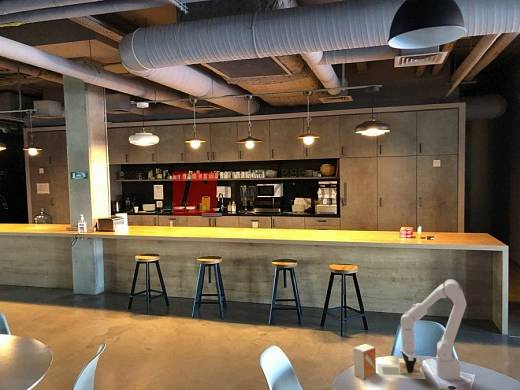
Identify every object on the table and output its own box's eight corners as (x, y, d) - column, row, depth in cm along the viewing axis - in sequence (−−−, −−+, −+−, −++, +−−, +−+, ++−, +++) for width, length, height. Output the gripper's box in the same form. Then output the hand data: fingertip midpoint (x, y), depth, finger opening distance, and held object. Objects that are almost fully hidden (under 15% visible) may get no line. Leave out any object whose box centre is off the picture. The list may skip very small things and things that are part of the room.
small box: (364, 380, 192) (363, 351, 192) (354, 375, 198) (352, 347, 197) (376, 374, 197) (375, 347, 196) (366, 370, 202) (365, 343, 202)
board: (420, 367, 202) (420, 365, 202) (426, 381, 188) (425, 379, 188) (377, 366, 206) (376, 364, 206) (379, 379, 192) (379, 377, 192)
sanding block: (418, 369, 198) (418, 358, 198) (420, 374, 193) (420, 363, 193) (398, 368, 200) (398, 358, 199) (399, 373, 195) (399, 362, 195)
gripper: (397, 334, 204) (398, 362, 204) (401, 346, 190) (402, 376, 190) (412, 335, 202) (413, 363, 203) (417, 346, 188) (418, 377, 189)
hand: (409, 369), depth 196 cm, fingers closed on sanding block, 5 cm apart
